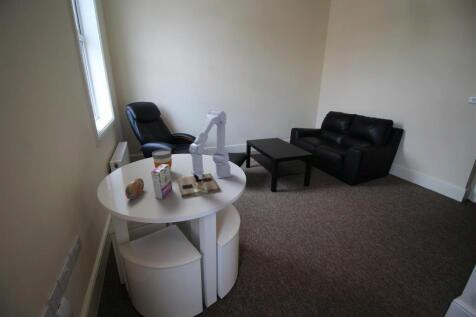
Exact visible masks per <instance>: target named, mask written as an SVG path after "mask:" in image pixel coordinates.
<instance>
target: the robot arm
mask: <svg viewBox="0 0 476 317" xmlns="http://www.w3.org/2000/svg"><path fill="white" fill-rule="evenodd" d="M226 124H227V114H226V112H225V111H224V110H220V111H219V110H213V109H210V110H208V113H207V115H206V122H205V124H204V126H203V128H202V131H199V133H198V134H197V135H196V137H195V139H194V141H193V143H191V144H189V147H188V148H189V149H188V151H189V153H190V156H191V162H192V171H190V173H191V174H192V176H194V177H195V179H196V182H201V181H202V179H203V177H204V175H203V174H204V165H203V163H204V162H203V153H204V152H205V144H206V142H207V141H208V139H209V133H210V131H211V129H212V128H213V126H216V149H215V150H214V151H213V155H212V162H214V164H215V173H214V176H215V177H216V179H223V178H231V177H232V175H231V164H230V156H229V152H228V151H227V150H226V148H225V147H226Z"/></svg>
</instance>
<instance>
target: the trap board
mask: <svg viewBox="0 0 476 317" xmlns="http://www.w3.org/2000/svg"><path fill="white" fill-rule="evenodd" d="M203 175H204V177H203V179H202V181H203V183H204V189H205V190H204V191H197V189H196V179H195V177H194V175H192V176H185V177H179V178H176V180H177V185H178V189H179V192H180V196H181V198H187V197H194V196H199V195H205V194H210V193H216V192H220V191H221V187H220V185H219V184H218V182H217V181H216V179H215V177H214V176H213V175H212V173H203Z"/></svg>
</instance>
